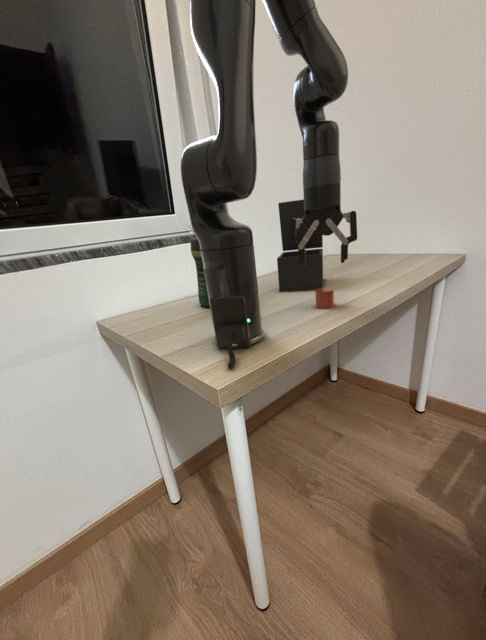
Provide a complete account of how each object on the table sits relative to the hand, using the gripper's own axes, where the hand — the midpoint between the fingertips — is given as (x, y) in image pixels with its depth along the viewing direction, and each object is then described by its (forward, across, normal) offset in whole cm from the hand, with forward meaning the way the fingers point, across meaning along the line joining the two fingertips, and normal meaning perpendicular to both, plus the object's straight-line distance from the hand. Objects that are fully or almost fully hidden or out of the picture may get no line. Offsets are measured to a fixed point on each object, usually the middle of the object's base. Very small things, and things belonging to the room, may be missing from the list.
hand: (323, 263), depth 70 cm
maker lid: (-7, -6, +29) cm, 30 cm away
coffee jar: (+10, -30, +8) cm, 32 cm away
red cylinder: (+10, 0, -1) cm, 10 cm away
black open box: (+10, -7, +24) cm, 26 cm away
